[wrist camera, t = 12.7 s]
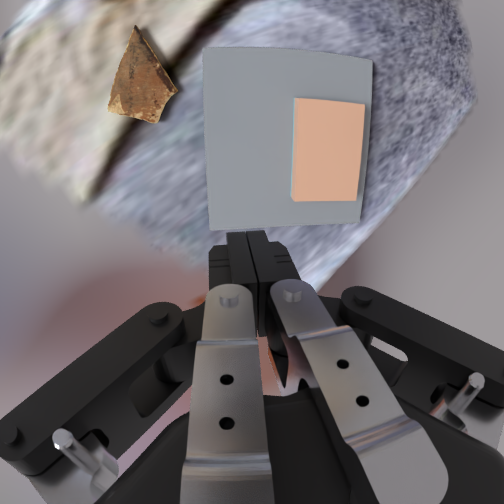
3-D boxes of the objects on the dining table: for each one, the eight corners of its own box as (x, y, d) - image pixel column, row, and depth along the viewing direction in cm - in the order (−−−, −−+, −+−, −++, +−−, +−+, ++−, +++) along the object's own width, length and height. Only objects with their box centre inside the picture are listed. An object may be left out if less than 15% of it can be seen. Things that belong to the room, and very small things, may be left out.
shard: (137, 27, 25) (134, 24, 24) (198, 40, 27) (198, 38, 26) (108, 110, 30) (103, 111, 28) (166, 125, 32) (164, 126, 30)
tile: (298, 98, 29) (364, 104, 30) (293, 97, 31) (357, 103, 31) (294, 201, 35) (356, 200, 36) (290, 196, 36) (349, 195, 37)
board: (202, 49, 28) (202, 48, 27) (367, 61, 30) (372, 60, 29) (209, 226, 38) (209, 230, 37) (355, 219, 41) (359, 223, 39)
